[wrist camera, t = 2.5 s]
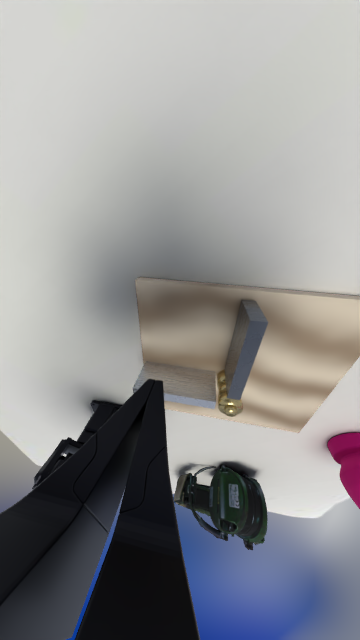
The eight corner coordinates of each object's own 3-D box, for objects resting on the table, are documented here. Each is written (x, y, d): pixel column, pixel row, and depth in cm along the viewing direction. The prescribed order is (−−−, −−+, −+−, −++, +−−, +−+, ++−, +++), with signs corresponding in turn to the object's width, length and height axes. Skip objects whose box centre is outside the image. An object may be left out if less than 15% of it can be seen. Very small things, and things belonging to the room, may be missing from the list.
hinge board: (295, 425, 24) (298, 432, 23) (149, 400, 27) (147, 405, 26) (389, 298, 14) (401, 303, 13) (138, 277, 16) (134, 279, 16)
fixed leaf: (239, 371, 19) (246, 408, 15) (235, 384, 20) (240, 422, 17) (145, 357, 21) (130, 388, 17) (146, 371, 22) (132, 402, 18)
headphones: (201, 484, 26) (159, 485, 39) (258, 616, 20) (186, 567, 33) (245, 438, 35) (199, 451, 47) (296, 522, 28) (227, 511, 41)
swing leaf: (234, 386, 20) (239, 416, 17) (216, 383, 20) (217, 412, 17) (261, 301, 14) (276, 323, 11) (235, 298, 15) (242, 319, 11)
